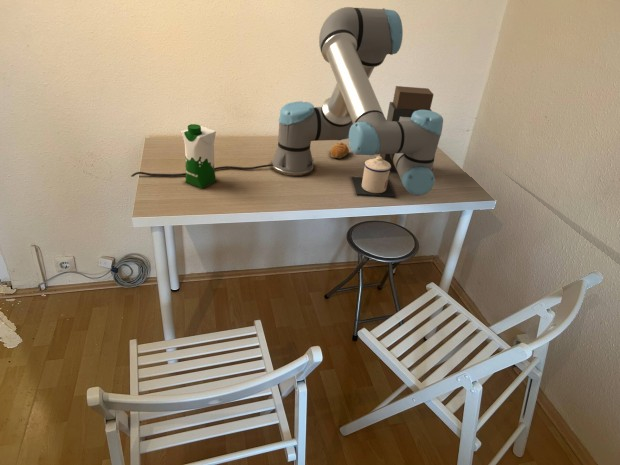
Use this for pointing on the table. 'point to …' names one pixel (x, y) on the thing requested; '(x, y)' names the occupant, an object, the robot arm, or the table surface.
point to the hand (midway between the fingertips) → (391, 128)
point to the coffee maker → (407, 108)
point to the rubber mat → (362, 192)
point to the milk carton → (199, 155)
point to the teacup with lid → (376, 175)
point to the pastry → (339, 150)
